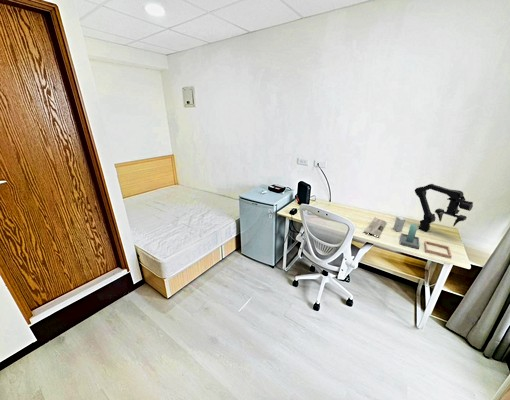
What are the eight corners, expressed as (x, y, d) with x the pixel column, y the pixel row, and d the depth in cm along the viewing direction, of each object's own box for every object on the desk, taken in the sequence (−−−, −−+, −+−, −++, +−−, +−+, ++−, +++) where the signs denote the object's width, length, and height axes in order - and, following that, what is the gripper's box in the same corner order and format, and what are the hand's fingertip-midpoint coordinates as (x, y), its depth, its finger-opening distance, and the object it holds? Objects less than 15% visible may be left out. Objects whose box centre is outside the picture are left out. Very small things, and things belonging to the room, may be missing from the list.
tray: (400, 235, 181) (401, 233, 180) (418, 240, 175) (418, 237, 174) (399, 244, 169) (400, 241, 168) (418, 249, 162) (419, 246, 162)
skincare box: (392, 228, 193) (396, 216, 188) (397, 228, 193) (401, 216, 188) (397, 232, 187) (400, 219, 183) (402, 232, 187) (405, 219, 183)
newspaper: (378, 238, 178) (379, 234, 177) (362, 233, 185) (363, 230, 184) (386, 223, 203) (387, 220, 202) (372, 219, 211) (373, 216, 209)
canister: (404, 239, 173) (409, 224, 168) (409, 239, 174) (414, 223, 169) (409, 242, 169) (414, 227, 164) (414, 242, 170) (419, 226, 165)
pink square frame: (424, 242, 171) (425, 240, 170) (448, 248, 163) (448, 246, 162) (425, 251, 160) (426, 249, 159) (450, 258, 152) (451, 256, 151)
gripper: (472, 208, 166) (465, 226, 171) (444, 200, 181) (438, 217, 187) (466, 211, 161) (459, 229, 166) (437, 203, 176) (431, 220, 182)
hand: (446, 223), depth 175 cm, fingers open, 9 cm apart
